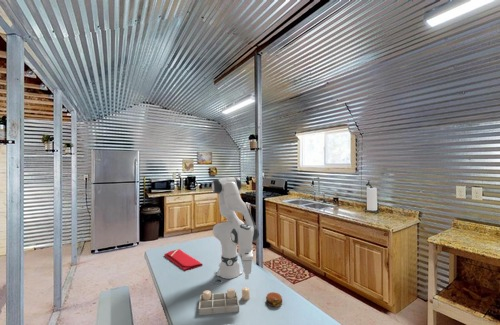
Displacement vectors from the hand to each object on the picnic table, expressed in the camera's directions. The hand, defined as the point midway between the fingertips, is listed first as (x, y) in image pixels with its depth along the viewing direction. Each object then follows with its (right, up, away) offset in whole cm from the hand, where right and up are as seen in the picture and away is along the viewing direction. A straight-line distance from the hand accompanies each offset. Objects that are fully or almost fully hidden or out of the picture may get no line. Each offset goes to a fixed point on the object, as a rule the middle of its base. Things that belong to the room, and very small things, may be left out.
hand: (245, 275), depth 143 cm
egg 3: (0, -15, 0) cm, 15 cm away
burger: (+17, -15, -3) cm, 23 cm away
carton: (-15, -14, -7) cm, 22 cm away
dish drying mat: (-55, -16, +59) cm, 82 cm away
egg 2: (-9, -14, -2) cm, 17 cm away
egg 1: (-23, -14, -4) cm, 27 cm away
